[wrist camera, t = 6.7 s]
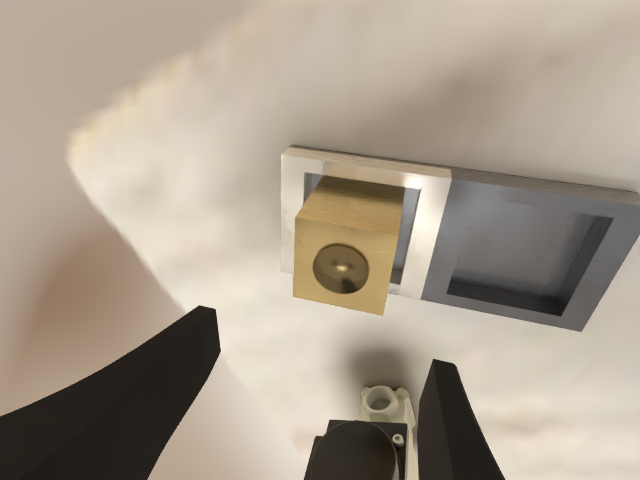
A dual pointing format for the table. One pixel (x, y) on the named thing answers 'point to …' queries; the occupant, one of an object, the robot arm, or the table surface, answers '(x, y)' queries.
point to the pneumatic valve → (369, 441)
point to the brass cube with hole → (347, 243)
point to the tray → (484, 235)
